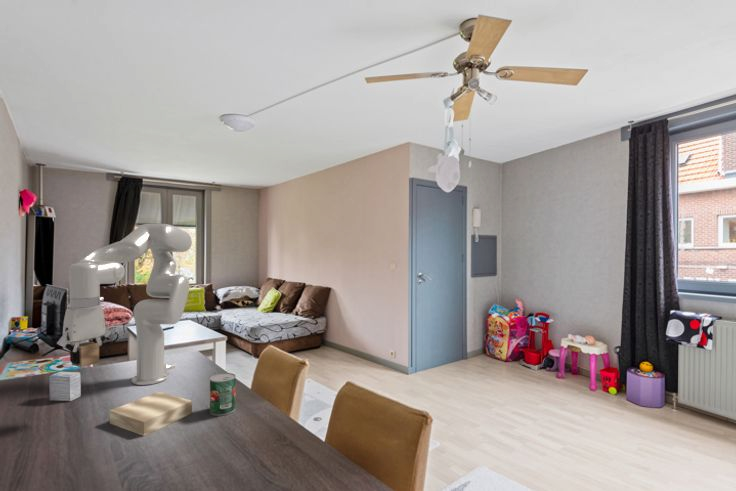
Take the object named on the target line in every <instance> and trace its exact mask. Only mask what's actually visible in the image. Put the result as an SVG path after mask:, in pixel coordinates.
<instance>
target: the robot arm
mask: <svg viewBox="0 0 736 491" xmlns="http://www.w3.org/2000/svg"><path fill="white" fill-rule="evenodd" d="M192 240H193V239H192V237H191V235H190V234H189V233H188V232H187V231H186V230H182V229H181V228H178V227H177V226H174V225H172V224H168V223H143V224H141V225H139V226H138V227H136V228H135V229H134V230H133V231H131V232H130V233H129V234H128V235H126V236H125V237H124V238H123V239H121V240H120V241H115V242H113V243H110V244H108V245H106V246H102V247H100V248H97V249H95V250H94V251H91V252H90V253H88V254H87V255H85V256H84V257H83V258H82V259H80V260H78V262H77V263H72V264H71V265H70V266H69V271H68V272H69V273H68V275H69V276H68V279H69V285H68V286H69V308H66V310H65V314H64V319H63V326H62V336H61V337H60V338H59V340H58V341H56V344H57V345H58V346H61V347H62V348H64V349H66V350H68V352H69V360H70V363H71V365H72V364H76V365H78V364H79V363H80V362H79V351H78V347H79V344H81V342H83V341H87V340H91V342H94V343H98V344H99V356H100V355H101V346H102V345H103V343H104V341H105V340H106V339H107V338H108V337H109V336H110V335H111V334H112V331H111V330H110V329H109V328H108V327H106V319H105V313H104V309H103V306H102V304H101V302H104V301H105V300H104V299H105V298H104V296H101V290H100V289H101V287H100V285H105V284H106V285H111V284H116V283H118V282H120V281H121V280H122V279H123V278H124V277H125V273H126V270H125V267H124V266H123V264H124V263H129V262H133V261H136V260H138V259H140V258H141V257H143V255H145V254H146V252H147V251H149V250H150V252H151V255H152V258H153V266H152V269H151V271H150V274H149V277H148V280H147V283H146V284H147V285H146V292H145V293H146V294H147V296H150V297H152V298H155V299H150V298H148V299H143V300H140V301H139V302H137V303H136V304H135V306H134V308H133V318H134V322H135V324H134V325H135V330H136V375H135V376H134V377H132V378H131V383H132V384H133V385H137V386H147V385H148V386H149V385H154V384H158V383H161V382H164V381H166V380H168V378H169V373H168V372H169V370H173V369H175V368H176V364H175V363H172V364H167V363H166V364H165V332H164V329H163V327H162V325H176V324H178V323H179V322H180V321H181V319H182V317H183V314H184V310H185V307H186V304H187V299H188V295H189V292H190V281H189V278H188V277H187V276H186V275H184V274H176V270H177V263H176V260H175V258H174V256H173V255H172V254H171V253H185V252H187V251H189V250H190V249H191V247H192V246H193V245H192V243H193V241H192ZM156 298H161V299H156ZM163 298H164V299H163ZM165 298H166V299H165ZM67 342H69V343H67Z"/></svg>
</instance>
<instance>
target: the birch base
mask: <svg viewBox="0 0 736 491" xmlns="http://www.w3.org/2000/svg"><path fill="white" fill-rule="evenodd" d="M192 413H193V400H190V399H186V398H183V397H179V396H176V395H172V394H168V393H165V392H162V391H157V392H154V393H153V394H152V393H151V394H150V395H147V396H144V397H142V398H138V399H136V400H134V401H130V402H129V403H126V404H123V405H120V406H118V407H115V408H113V409H111V410H109V425H112V426H115V427H118V428H120V429H123V430H126V431H128V432H129V431H130V432H133V433H134V434H137V435H140V436H143V437H145V436H148V435H150V434H151V433H154V432H156V431H158V430H161V429H162V428H164V427H166V426H168V425H170V424H172V423H174V422H176V421H179V420H181V419H183V418H186V417H187V416H189V415H192Z"/></svg>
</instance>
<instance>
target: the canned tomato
mask: <svg viewBox="0 0 736 491" xmlns="http://www.w3.org/2000/svg"><path fill="white" fill-rule="evenodd" d="M236 380H237V379H236V374H235V373H231V372H223V373H217V374H214V375H211V377H209V414H210V415H212V416H215V417H221V416H222V417H223V416H226V415H230V414H232V413H233V412H235V410H236V389H237V388H236V382H237V381H236Z"/></svg>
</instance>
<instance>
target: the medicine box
mask: <svg viewBox="0 0 736 491" xmlns="http://www.w3.org/2000/svg"><path fill="white" fill-rule="evenodd" d="M48 382H49V401H58V402H61V401H62V402H72V401H74V400H77V399H79V398H80V397H81V396H82V395H81V394H82V393H81V392H82V390H81V388H82V387H81V372H79V371H78V372H74V371H59V372H56V373H54V374H53V373H52V374H51V375H49V380H48Z"/></svg>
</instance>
